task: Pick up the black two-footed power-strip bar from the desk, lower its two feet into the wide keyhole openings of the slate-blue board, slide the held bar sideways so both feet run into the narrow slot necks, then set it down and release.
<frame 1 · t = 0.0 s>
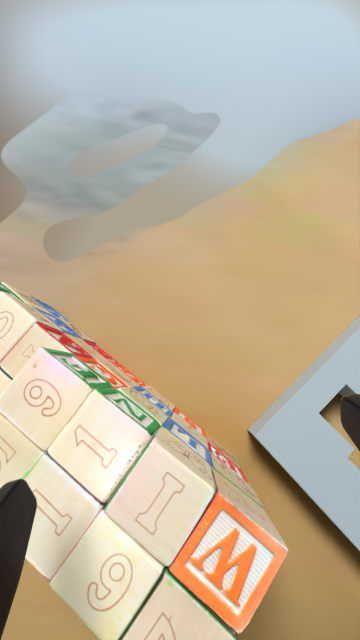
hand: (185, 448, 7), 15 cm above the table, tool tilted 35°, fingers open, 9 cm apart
stack of blocks: (113, 403, 22), on the table
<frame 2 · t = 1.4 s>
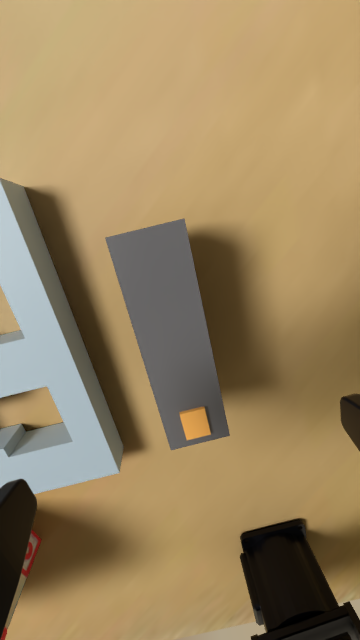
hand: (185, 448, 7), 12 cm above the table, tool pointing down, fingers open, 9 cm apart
keyhole board: (0, 359, 18), on the table
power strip: (171, 317, 18), on the table
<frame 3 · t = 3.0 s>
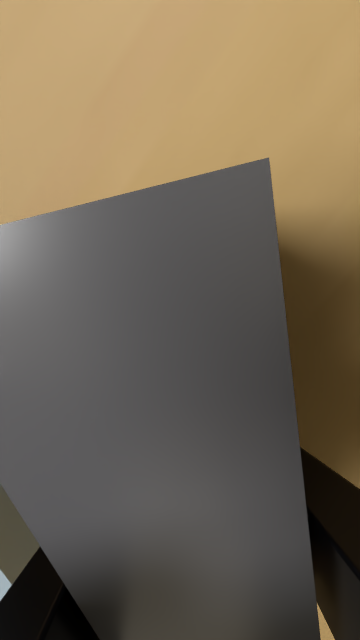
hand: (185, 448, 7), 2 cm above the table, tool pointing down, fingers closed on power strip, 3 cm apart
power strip: (178, 396, 9), on the table, touching gripper
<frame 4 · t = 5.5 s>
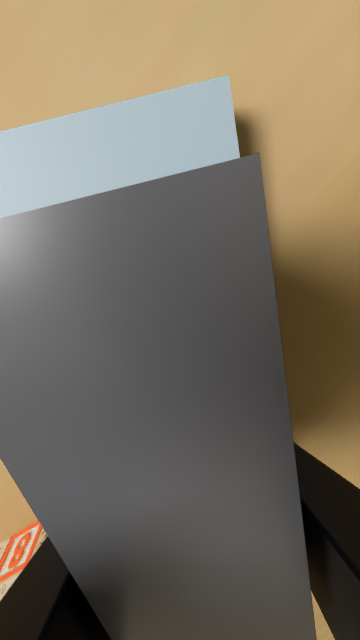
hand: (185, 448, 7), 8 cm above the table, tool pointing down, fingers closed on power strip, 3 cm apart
keyhole board: (143, 344, 15), on the table
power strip: (177, 392, 10), point 5 cm above the table, touching gripper
stack of blocks: (0, 578, 20), on the table
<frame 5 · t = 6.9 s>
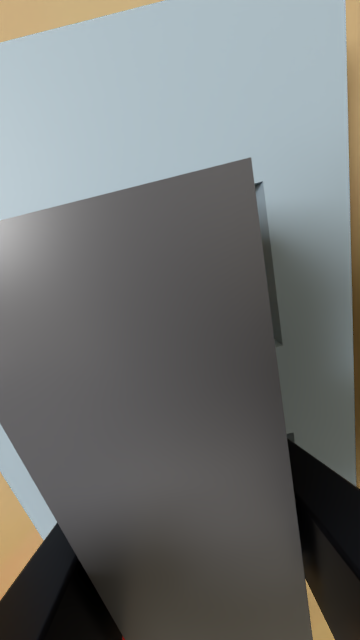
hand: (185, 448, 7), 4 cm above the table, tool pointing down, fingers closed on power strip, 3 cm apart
keyhole board: (171, 380, 11), on the table
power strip: (177, 388, 10), point 1 cm above the table, touching gripper
when the fingers open (3 cm above the table, at t = 8.3 s): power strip stays where it is, resting on keyhole board.
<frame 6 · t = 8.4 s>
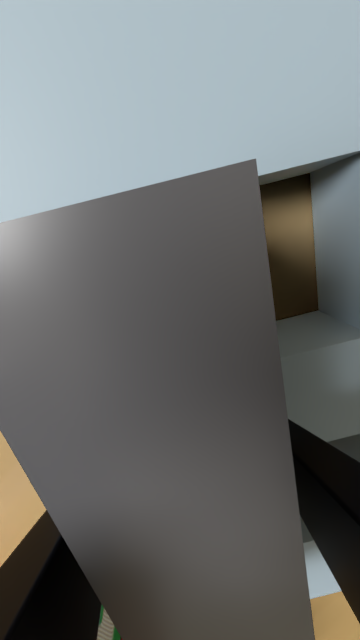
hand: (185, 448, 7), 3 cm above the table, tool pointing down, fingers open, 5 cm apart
keyhole board: (226, 374, 10), on the table
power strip: (178, 389, 10), resting on keyhole board
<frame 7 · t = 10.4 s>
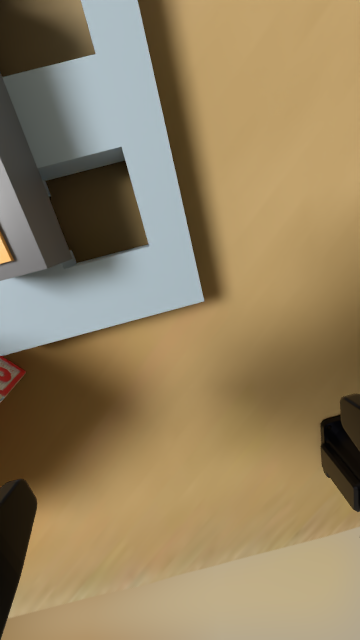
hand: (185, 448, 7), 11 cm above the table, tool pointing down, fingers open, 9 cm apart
keyhole board: (46, 141, 14), on the table
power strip: (6, 147, 13), resting on keyhole board
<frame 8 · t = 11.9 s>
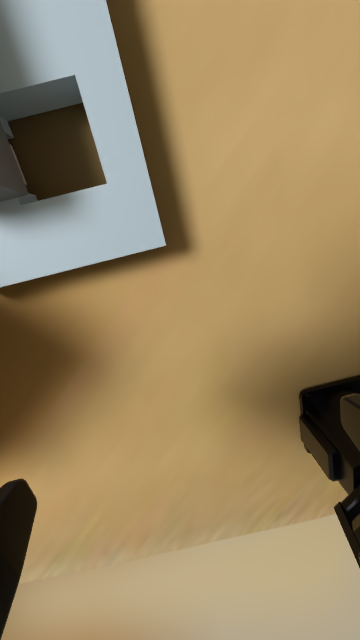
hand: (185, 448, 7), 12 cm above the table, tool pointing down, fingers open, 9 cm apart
keyhole board: (7, 80, 14), on the table
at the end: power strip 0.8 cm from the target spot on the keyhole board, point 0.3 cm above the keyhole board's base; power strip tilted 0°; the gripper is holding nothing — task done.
